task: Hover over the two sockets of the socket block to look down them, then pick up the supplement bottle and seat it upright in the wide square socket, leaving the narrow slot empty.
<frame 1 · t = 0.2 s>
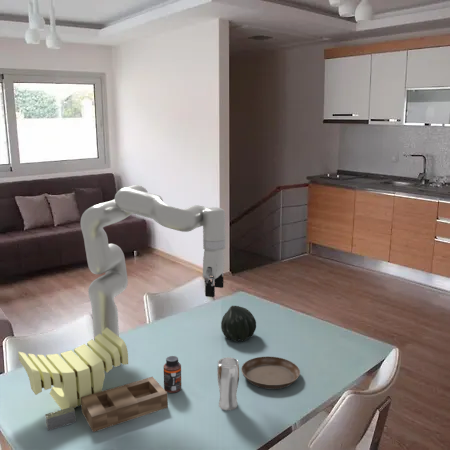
hand: (214, 291, 168), 31 cm above the table, tool pointing down, fingers open, 9 cm apart
squash: (238, 337, 203), on the table
beer glass: (228, 405, 155), on the table
socket block: (125, 409, 153), on the table
grey stone block: (61, 424, 145), on the table
supplement bottle: (172, 389, 164), on the table
slatted curved stool: (77, 397, 159), on the table
plant saucer: (270, 378, 172), on the table
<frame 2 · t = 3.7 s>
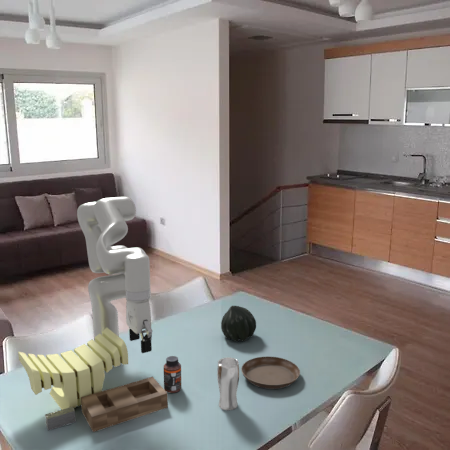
hand: (140, 345, 151), 20 cm above the table, tool pointing down, fingers open, 9 cm apart
nothing on the table moved.
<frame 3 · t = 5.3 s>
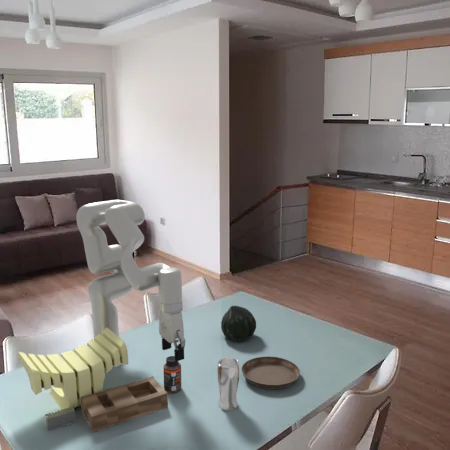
hand: (173, 354, 161), 13 cm above the table, tool pointing down, fingers open, 9 cm apart
nothing on the table moved.
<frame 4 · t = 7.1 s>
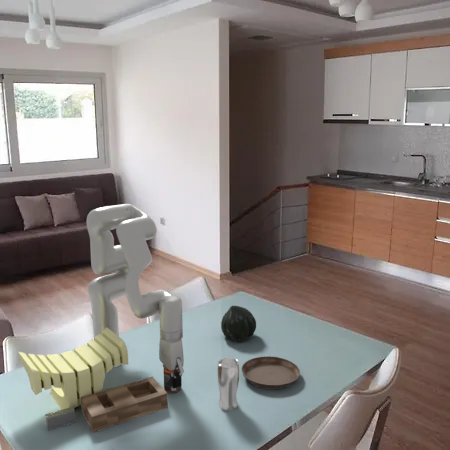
hand: (172, 382, 164), 3 cm above the table, tool pointing down, fingers closed on supplement bottle, 6 cm apart
supplement bottle: (172, 389, 164), on the table, touching gripper
everything else where it was.
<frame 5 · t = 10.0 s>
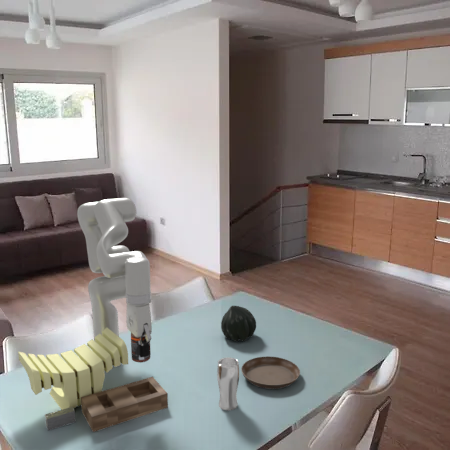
hand: (140, 351, 152), 18 cm above the table, tool pointing down, fingers closed on supplement bottle, 6 cm apart
supplement bottle: (141, 359, 152), point 16 cm above the table, touching gripper
everything else where it was.
when the fingers open (5 cm above the table, at t = 13.1 s): supplement bottle drops 2 cm, resting on socket block.
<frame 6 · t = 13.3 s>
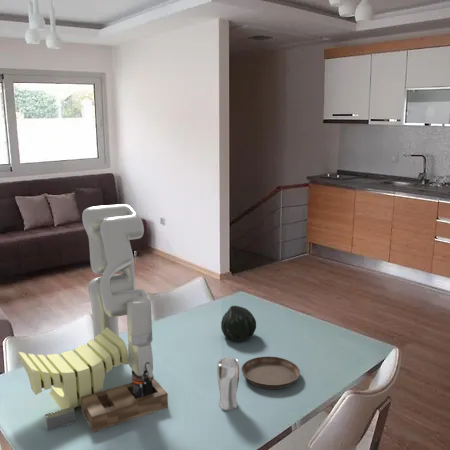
hand: (142, 387, 154), 6 cm above the table, tool pointing down, fingers open, 8 cm apart
supplement bottle: (142, 401, 156), point 1 cm above the table, touching socket block
everything else where it was.
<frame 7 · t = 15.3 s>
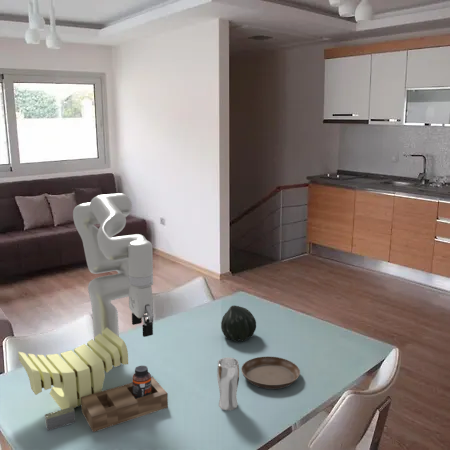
hand: (142, 329, 156), 23 cm above the table, tool pointing down, fingers open, 9 cm apart
nothing on the table moved.
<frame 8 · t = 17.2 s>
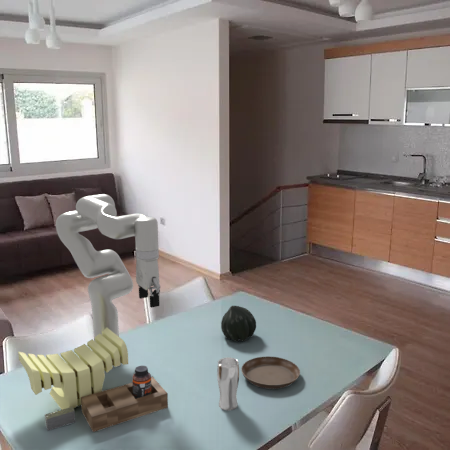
hand: (149, 302, 166), 28 cm above the table, tool pointing down, fingers open, 9 cm apart
nothing on the table moved.
at the end: supplement bottle 0.4 cm from the target spot on the socket block, point 0.8 cm above the socket block's base; supplement bottle tilted 0°; the gripper is holding nothing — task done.
